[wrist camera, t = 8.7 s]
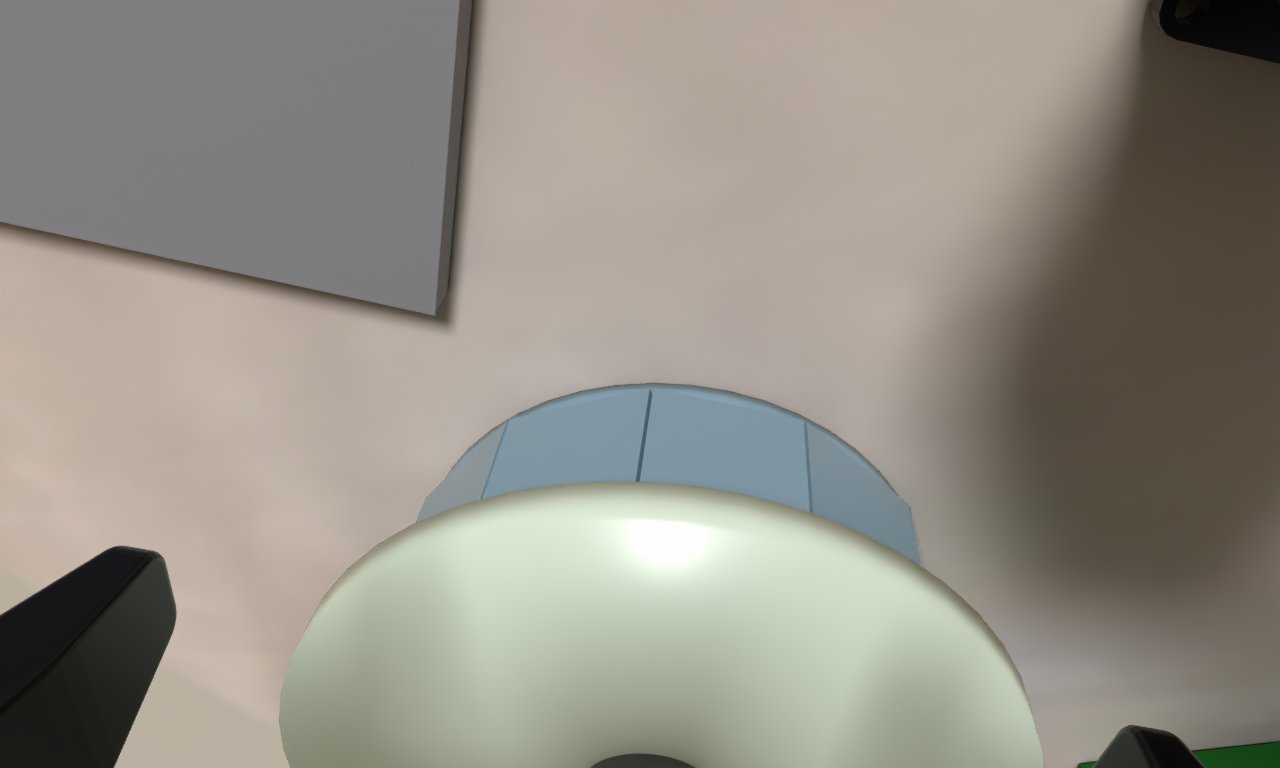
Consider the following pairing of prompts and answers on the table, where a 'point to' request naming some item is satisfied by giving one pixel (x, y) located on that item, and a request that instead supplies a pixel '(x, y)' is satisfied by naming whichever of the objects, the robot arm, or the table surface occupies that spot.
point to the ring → (682, 455)
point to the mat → (243, 135)
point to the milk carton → (1236, 757)
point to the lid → (647, 644)
